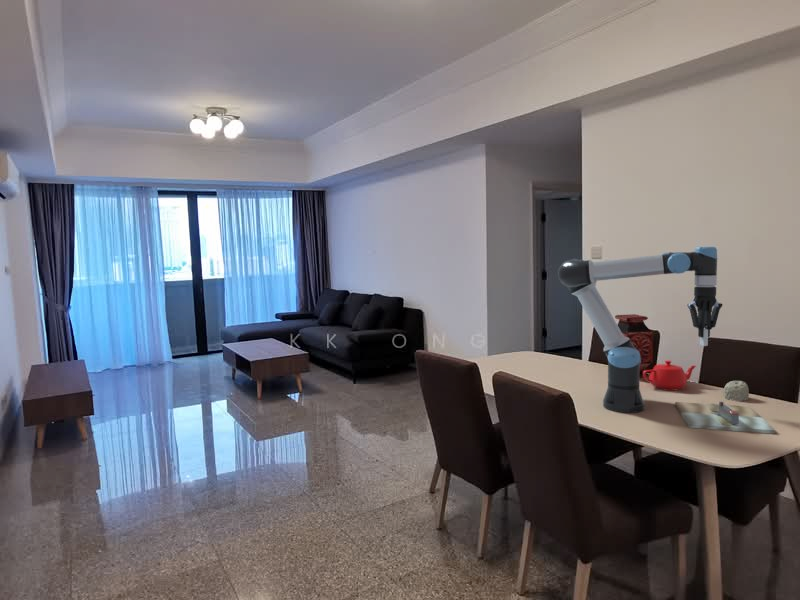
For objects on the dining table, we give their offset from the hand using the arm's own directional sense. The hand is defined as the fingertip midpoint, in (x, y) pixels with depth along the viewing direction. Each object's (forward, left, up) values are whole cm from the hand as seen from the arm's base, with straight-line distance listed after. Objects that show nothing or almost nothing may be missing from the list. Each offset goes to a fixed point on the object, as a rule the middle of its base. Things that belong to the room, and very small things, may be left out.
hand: (703, 345), depth 208 cm
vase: (-22, +47, -25) cm, 57 cm away
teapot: (-8, +27, -25) cm, 37 cm away
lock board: (+3, -16, -24) cm, 29 cm away
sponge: (+15, +14, -25) cm, 32 cm away
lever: (+4, -23, -23) cm, 32 cm away
